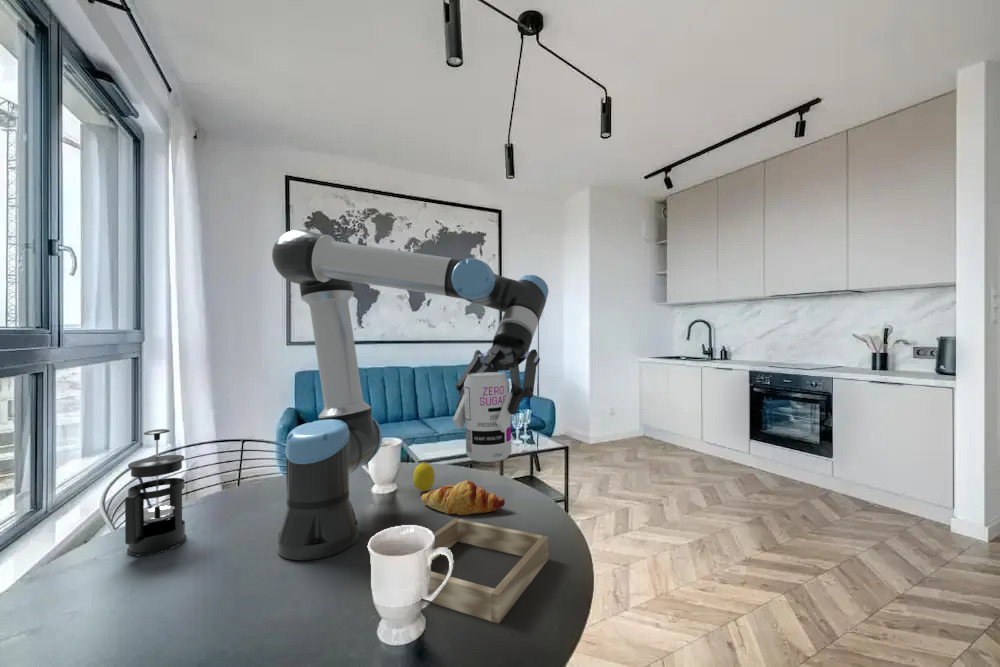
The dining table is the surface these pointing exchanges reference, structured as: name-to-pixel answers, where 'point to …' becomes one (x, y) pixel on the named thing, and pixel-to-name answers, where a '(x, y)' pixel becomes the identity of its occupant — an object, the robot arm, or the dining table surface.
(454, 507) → the croissant
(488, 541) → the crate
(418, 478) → the lemon
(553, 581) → the dining table surface
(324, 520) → the robot arm
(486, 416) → the supplement can
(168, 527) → the french press
